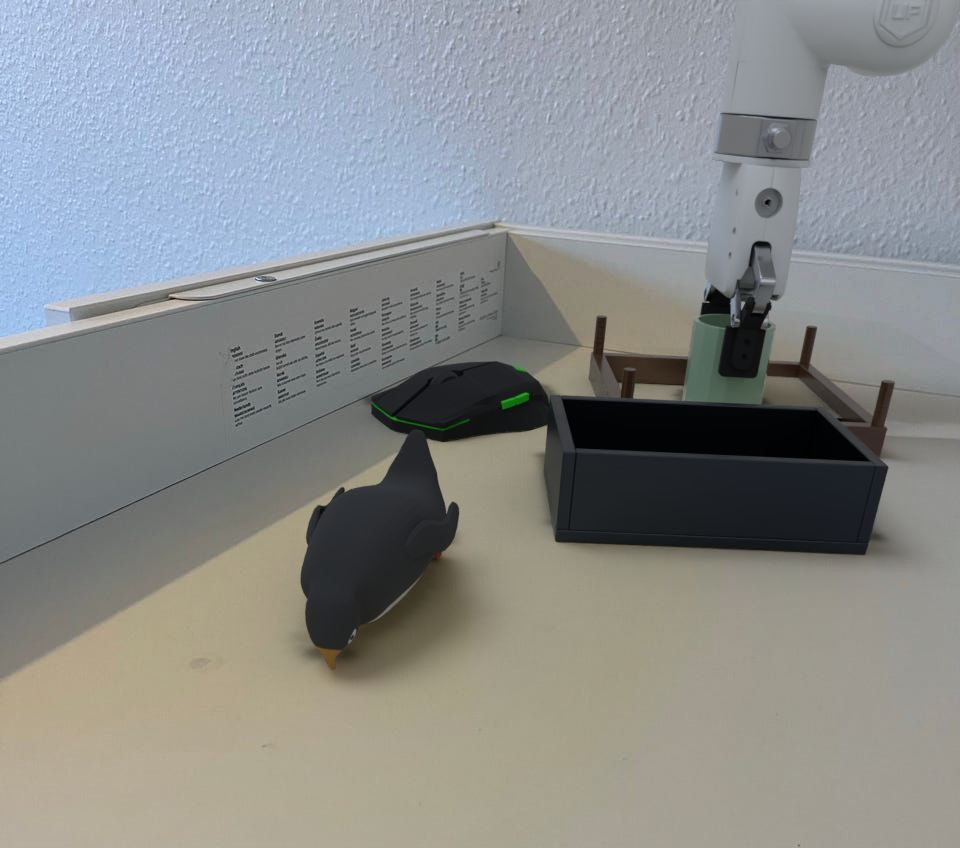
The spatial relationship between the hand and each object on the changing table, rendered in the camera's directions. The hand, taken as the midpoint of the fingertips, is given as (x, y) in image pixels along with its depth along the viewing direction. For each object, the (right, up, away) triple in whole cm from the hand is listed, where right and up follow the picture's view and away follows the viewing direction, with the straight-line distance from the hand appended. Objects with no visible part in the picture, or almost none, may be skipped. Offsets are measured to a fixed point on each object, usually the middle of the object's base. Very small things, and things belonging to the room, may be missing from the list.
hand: (724, 362), depth 86 cm
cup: (0, -4, +2) cm, 5 cm away
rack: (0, -4, +2) cm, 5 cm away
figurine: (-27, -23, -33) cm, 48 cm away
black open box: (-7, -15, -19) cm, 25 cm away
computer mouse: (-22, -5, -2) cm, 23 cm away
